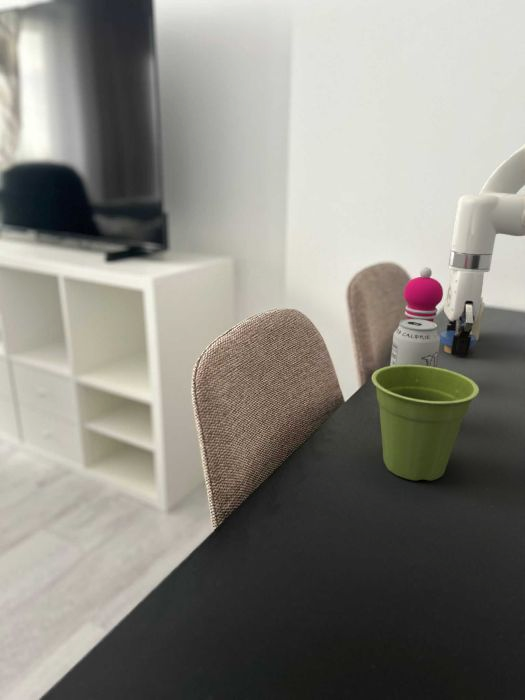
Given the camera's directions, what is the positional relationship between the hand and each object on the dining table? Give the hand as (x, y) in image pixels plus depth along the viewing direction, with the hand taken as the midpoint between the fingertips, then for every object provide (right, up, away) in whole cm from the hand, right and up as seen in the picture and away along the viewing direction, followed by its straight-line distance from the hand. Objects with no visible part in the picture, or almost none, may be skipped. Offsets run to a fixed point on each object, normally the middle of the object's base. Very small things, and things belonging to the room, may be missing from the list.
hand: (455, 348), depth 104 cm
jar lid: (0, +2, -1) cm, 2 cm away
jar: (+5, +3, +10) cm, 11 cm away
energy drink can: (-19, -11, -31) cm, 38 cm away
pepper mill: (-14, -6, -17) cm, 23 cm away
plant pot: (-21, -15, -41) cm, 49 cm away
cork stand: (0, -1, 0) cm, 1 cm away
